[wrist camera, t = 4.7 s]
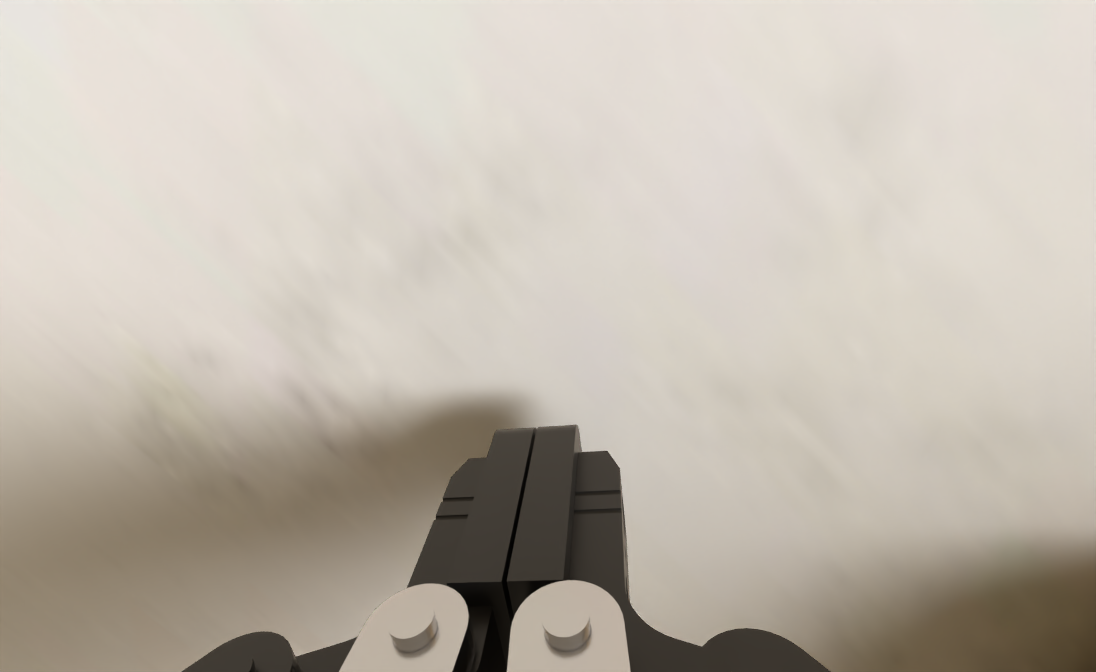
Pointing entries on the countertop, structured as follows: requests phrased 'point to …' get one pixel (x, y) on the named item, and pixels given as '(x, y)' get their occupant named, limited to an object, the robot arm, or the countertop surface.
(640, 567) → the countertop surface
